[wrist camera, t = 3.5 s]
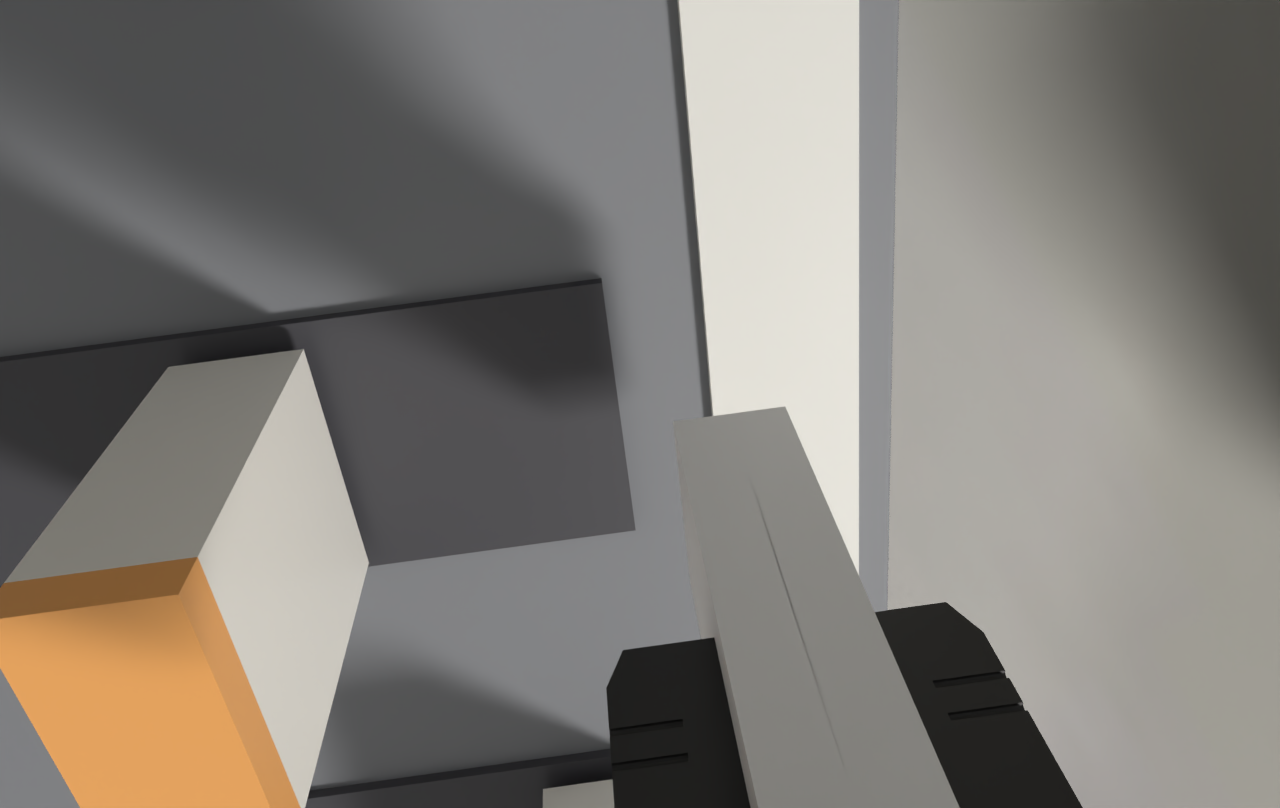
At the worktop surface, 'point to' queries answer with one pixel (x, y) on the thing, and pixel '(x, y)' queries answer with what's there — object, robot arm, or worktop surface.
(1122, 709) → the worktop surface
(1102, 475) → the worktop surface
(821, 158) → the breaker panel
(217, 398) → the handle
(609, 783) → the cream rectangular block
